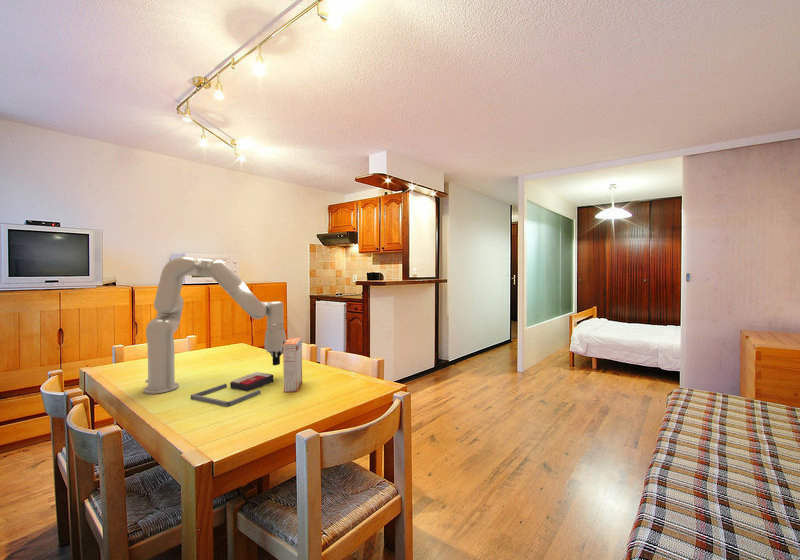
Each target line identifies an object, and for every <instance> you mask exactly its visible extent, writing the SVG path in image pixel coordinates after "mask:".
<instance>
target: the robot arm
mask: <svg viewBox="0 0 800 560" xmlns="http://www.w3.org/2000/svg"><path fill="white" fill-rule="evenodd" d="M186 276H195V277H203V278H204V277H205V278H212V279H213V280H214V281H215V282H216V283H218V285H219V286H220V287H221V288H222V289H223V290H224V291H225V292H226V293H227V294H228V295H229V296H230V297H231V298H232V299H233V300H234V301H235V302H236V304H238V305H239V306H240V307H241V308H242V310H243V311H245V313H246V314H248V315H249V316H250V318H253V319H254V320H260V319H263V318H264V317H266V323H267V324H266V330H265V334H264V350H265V351H266V352H267V353H269V354H270V356H271V358H272V366H278V365H281V356H282V355H283V344H284V343H285V342H286V341H287V335H286V331H285V329H284V327H285V326H284V325H285V323H284V322H285V321H284V303H283V301H279V300H278V301H276V300H275V301H260V300H259V299H258V298H257V297H256V295H255V294H253V292H252V291H251V290H250V289H249V287H248V286H247V284H246V282H245V281H244V280H243V278H241V277H240V276H239V275H238V274H237V273H236V272H235V271H234V270H233V269H232V268H230V265H229V264H228V263H227V262H226V261H224V260H222V259H210V258H200V257H194V256H189V255H184V256H178V257H176V258H173V259H171V260H170V261H168V262H167V263H165V265H164V266H163V268H162V270H161V274H160V278H159V281H158V282H159V283H158V286H157V289H156V293H155V294H156V295H155V298H154V300H153V301H154V302H153V306H154V309H155V311H157V312H156V317H155V318H153V319H152V320H150V321H149V322H148V324H147V326H146V327H145V335H146V342H147V343H146V345H147V379H146V380H145V384H147V386H146V387H144V388H143V394H144V393H145V394H149V395H150V394H151V395H155V394H163V393H168V392H172V391H174V390H176V389H178V388H179V387H180V383H178V382H176V381H175V373H176V372H175V340H174V333H175V332H176V331H177V330H178V329H179V326H180V322H181V318H182V314H183V313H182V312H183V308H184V298H183V296H182V295H181V292H182V287H183V282H184V278H185V277H186Z"/></svg>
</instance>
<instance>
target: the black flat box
mask: <svg viewBox="0 0 800 560" xmlns="http://www.w3.org/2000/svg"><path fill="white" fill-rule="evenodd" d="M271 382H272V383H275V380H274V374H272V373H268V372H267V373H266V372H259V371H255V372H252V373H249V374H246V375H244V376H241V377H238V378H237V379H233V380H231V381H230V382H229V385H230V387H229V389H232V390H233V389H234V390H238V391H242V390H243V391H244V392H251V391H254V390H256V389H259V388H261V387H264V386H265V385H270V384H272V383H271ZM269 383H270V384H269ZM258 387H259V388H258ZM253 389H254V390H253ZM250 390H251V391H250Z"/></svg>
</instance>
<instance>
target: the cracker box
mask: <svg viewBox="0 0 800 560" xmlns="http://www.w3.org/2000/svg"><path fill="white" fill-rule="evenodd" d="M302 341H303V339H302V337H290V338H288V339H286V342H285V343H284V344H283V354H282V355H283V357H282V358H283V393H294V392H298V391H299V389H300V387H301V384H302V383H303V342H302Z"/></svg>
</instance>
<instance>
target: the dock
mask: <svg viewBox="0 0 800 560" xmlns="http://www.w3.org/2000/svg"><path fill="white" fill-rule="evenodd" d="M227 387H228V385H227V383H223V384H220V385H217V386H214V387H211V388H208V389H205V390H202V391H199V392H195V393H193V394H191V395H190V399H191V400H194V401H200V402H202V403H203V402H204V403H207V404H208V403H209V404H213V405H217V406H223V407H226V408H228V407H232V406H234V405H236V404H238V403H241V402H244V401H246V400H248V399H251V398H254V397H256V396H258V394H259V395H260V394H261V392H262V391H261V389H257V390H255V391H254V390H253V391H252V392H250V393H248V394H245V395H242V396H239V397H237V398H235V399H232V400H229V401H226V400H221V399H217V398H212V397H207V396H206V395H209V394H212V393H214V392H215V393H216V392H217V391H221V390H223V389H226V388H227ZM253 396H254V397H253Z"/></svg>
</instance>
